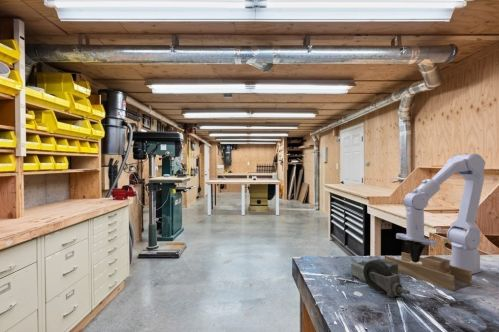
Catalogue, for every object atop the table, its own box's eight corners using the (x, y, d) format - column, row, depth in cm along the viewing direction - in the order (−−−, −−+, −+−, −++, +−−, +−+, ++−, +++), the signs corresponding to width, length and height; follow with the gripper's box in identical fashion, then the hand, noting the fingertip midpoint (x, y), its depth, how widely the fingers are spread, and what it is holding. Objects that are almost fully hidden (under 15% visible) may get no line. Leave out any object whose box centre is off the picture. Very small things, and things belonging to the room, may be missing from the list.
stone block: (348, 275, 108) (348, 261, 108) (379, 270, 113) (379, 257, 113) (365, 284, 99) (365, 268, 99) (398, 278, 104) (398, 264, 104)
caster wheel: (361, 289, 97) (403, 302, 84) (358, 259, 98) (399, 267, 85) (373, 285, 100) (415, 298, 87) (370, 256, 101) (412, 264, 88)
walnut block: (432, 266, 107) (432, 255, 107) (449, 271, 102) (449, 260, 102) (422, 269, 104) (421, 257, 104) (439, 274, 99) (439, 262, 99)
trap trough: (403, 263, 120) (403, 252, 120) (471, 284, 98) (471, 271, 98) (384, 267, 115) (384, 255, 115) (452, 290, 93) (452, 276, 93)
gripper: (390, 223, 115) (391, 258, 114) (427, 229, 102) (428, 269, 102) (402, 221, 118) (403, 255, 118) (440, 227, 105) (440, 266, 105)
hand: (415, 261), depth 110 cm, fingers closed
